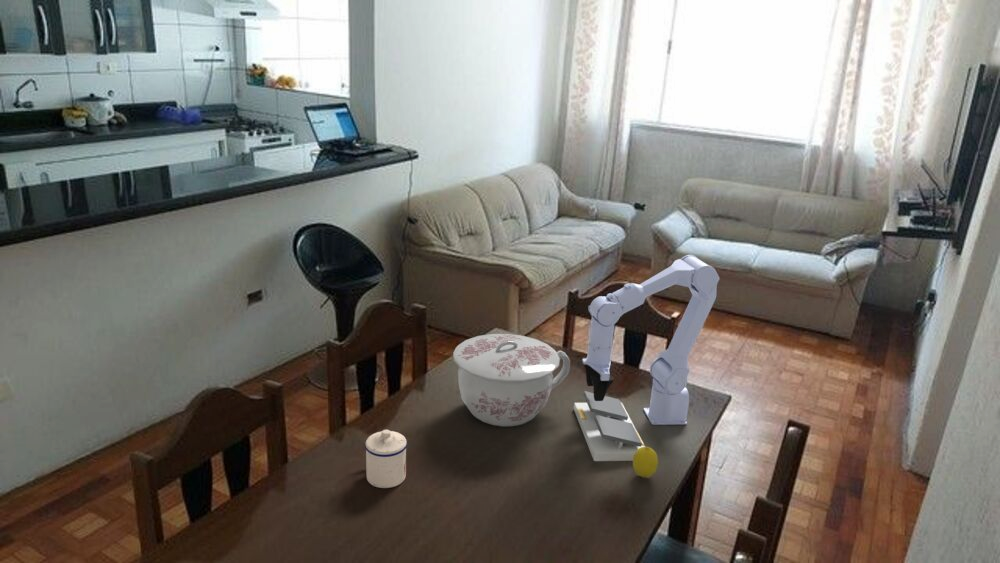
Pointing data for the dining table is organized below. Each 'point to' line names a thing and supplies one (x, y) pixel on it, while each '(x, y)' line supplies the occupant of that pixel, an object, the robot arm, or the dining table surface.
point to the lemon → (645, 461)
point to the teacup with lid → (386, 459)
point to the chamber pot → (507, 377)
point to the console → (601, 446)
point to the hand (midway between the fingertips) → (594, 392)
